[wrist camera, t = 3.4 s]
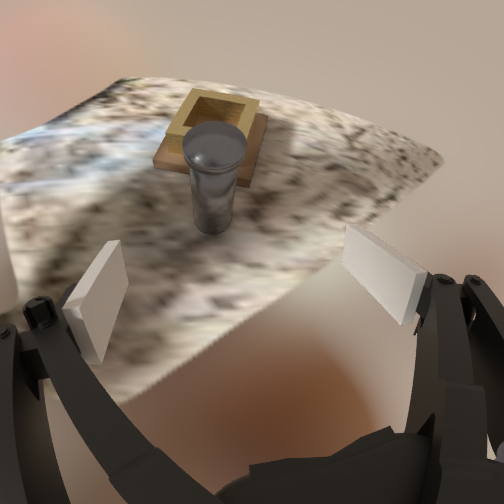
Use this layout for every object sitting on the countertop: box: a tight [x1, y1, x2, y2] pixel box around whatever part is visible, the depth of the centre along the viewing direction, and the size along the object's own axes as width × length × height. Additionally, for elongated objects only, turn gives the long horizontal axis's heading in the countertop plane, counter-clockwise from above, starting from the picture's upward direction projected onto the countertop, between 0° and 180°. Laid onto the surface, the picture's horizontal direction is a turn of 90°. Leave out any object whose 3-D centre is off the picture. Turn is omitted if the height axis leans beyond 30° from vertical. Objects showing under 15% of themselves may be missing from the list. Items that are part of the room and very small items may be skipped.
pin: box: [182, 121, 247, 234], centre depth 25 cm, size 5×5×12 cm
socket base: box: [153, 113, 268, 188], centre depth 34 cm, size 12×12×2 cm
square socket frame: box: [165, 88, 260, 167], centre depth 32 cm, size 9×9×4 cm
